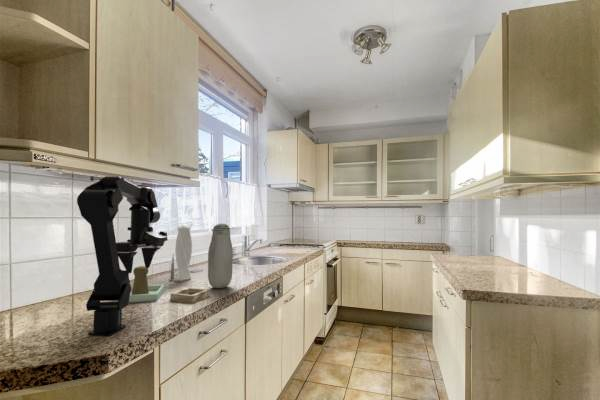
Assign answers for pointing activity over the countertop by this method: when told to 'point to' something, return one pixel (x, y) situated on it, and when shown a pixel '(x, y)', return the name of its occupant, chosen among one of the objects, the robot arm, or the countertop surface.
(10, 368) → the countertop surface
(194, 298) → the wooden collar
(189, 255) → the skyscraper
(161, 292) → the sage green tray
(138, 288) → the cork
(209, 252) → the grey bottle
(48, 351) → the countertop surface
